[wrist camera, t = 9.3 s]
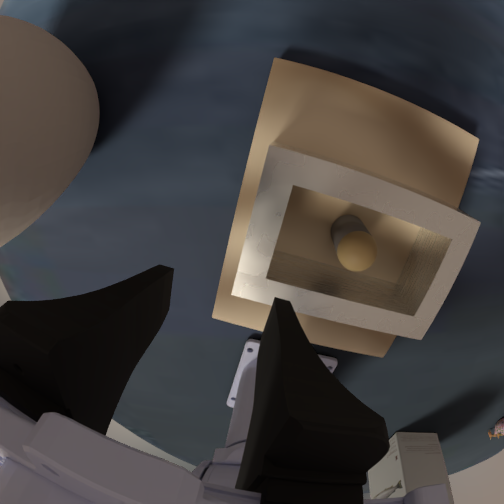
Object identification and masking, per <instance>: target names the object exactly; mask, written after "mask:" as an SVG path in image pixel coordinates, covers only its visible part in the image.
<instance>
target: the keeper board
mask: <svg viewBox="0 0 504 504" xmlns="http://www.w3.org/2000/svg"><path fill="white" fill-rule="evenodd" d="M274 141H275V142H279V143H283V144H286V145H290V146H294V147H297V148H301V149H304V150H308V151H311V152H314V153H318V154H321V155H324V156H327V157H331V158H334V159H337V160H340V161H343V162H346V163H349V164H352V165H355V166H358V167H361V168H363V169H366V170H369V171H372V172H375V173H377V174H380V175H383V176H385V177H388V178H391V179H393V180H396V181H398V182H401V183H404V184H406V185H409V186H411V187H413V188H416V189H418V190H421V191H423V192H425V193H428V194H430V195H432V196H435V197H437V198H439V199H441V200H444V201H446V202H448V203H450V204H452V205H453V206H455V207H457V208H458V206H459V204H460V201H461V198H462V195H463V192H464V189H465V186H466V183H467V180H468V177H469V174H470V171H471V167H472V164H473V160H474V157H475V153H476V150H477V146H478V142H479V139H478V138H476V137H475V136H473V135H471V134H470V133H468V132H466V131H465V130H463V129H461V128H459V127H458V126H456V125H454V124H452V123H450V122H449V121H447V120H445V119H443V118H441V117H439V116H437V115H435V114H433V113H431V112H429V111H427V110H425V109H423V108H421V107H419V106H417V105H415V104H412V103H410V102H408V101H406V100H404V99H401V98H399V97H397V96H394V95H392V94H390V93H387V92H385V91H382V90H380V89H377V88H375V87H372V86H369V85H367V84H364V83H361V82H358V81H356V80H353V79H350V78H347V77H344V76H341V75H338V74H335V73H331V72H328V71H325V70H322V69H318V68H315V67H311V66H307V65H304V64H300V63H296V62H292V61H288V60H284V59H279V58H275V57H274V61H273V64H272V68H271V72H270V76H269V79H268V83H267V87H266V91H265V95H264V98H263V102H262V106H261V110H260V114H259V118H258V122H257V126H256V130H255V133H254V137H253V141H252V145H251V150H250V154H249V158H248V162H247V166H246V170H245V174H244V178H243V182H242V186H241V191H240V195H239V199H238V203H237V208H236V212H235V216H234V220H233V225H232V229H231V233H230V238H229V242H228V247H227V251H226V256H225V260H224V264H223V269H222V274H221V278H220V283H219V287H218V292H217V296H216V301H215V306H214V311H213V315H212V318H215V319H219V320H222V321H226V322H229V323H233V324H237V325H240V326H244V327H248V328H251V329H255V330H259V331H263V330H264V327H265V324H266V322H267V319H268V316H269V313H270V310H271V307H272V306H271V305H267V304H263V303H260V302H256V301H252V300H249V299H245V298H241V297H238V296H234V295H231V294H232V290H233V286H234V282H235V278H236V274H237V270H238V266H239V262H240V258H241V254H242V250H243V246H244V242H245V238H246V234H247V230H248V226H249V222H250V218H251V214H252V210H253V206H254V202H255V198H256V194H257V190H258V186H259V183H260V179H261V175H262V171H263V167H264V163H265V159H266V155H267V152H268V148H269V145H270V144H271V143H272V142H274ZM419 230H420V227H419V226H417V225H414V224H411V223H409V222H406V221H403V220H400V219H398V218H395V217H392V216H389V215H386V214H384V213H381V212H378V211H375V210H372V209H369V208H366V207H363V206H360V205H357V204H354V203H351V202H348V201H345V200H342V199H338V198H335V197H332V196H329V195H325V194H322V193H319V192H316V191H312V190H309V189H305V188H302V187H298V186H295V185H293V187H292V190H291V194H290V197H289V201H288V204H287V208H286V211H285V215H284V218H283V222H282V225H281V228H280V232H279V235H278V239H277V242H276V245H275V249H274V250H278V251H281V252H285V253H289V254H292V255H296V256H299V257H303V258H307V259H310V260H314V261H317V262H321V263H325V264H328V265H332V266H335V267H339V268H343V269H346V270H350V271H353V272H357V273H360V274H364V275H368V276H371V277H375V278H378V279H382V280H385V281H389V282H392V283H396V282H397V280H398V278H399V276H400V274H401V271H402V269H403V267H404V265H405V263H406V260H407V258H408V256H409V254H410V251H411V249H412V247H413V244H414V242H415V240H416V237H417V235H418V232H419ZM295 313H296V316H297V318H298V320H299V322H300V324H301V327H302V328H303V330H304V332H305V334H306V336H307V338H308V340H309V342H310V343H313V344H317V345H322V346H326V347H331V348H336V349H341V350H346V351H351V352H356V353H361V354H366V355H371V356H377V357H382V358H383V357H384V355H385V354H386V352H387V351H388V349H389V347H390V346H391V344H392V342H393V341H394V339H395V338H396V336H397V335H394V334H389V333H384V332H379V331H375V330H370V329H366V328H361V327H357V326H352V325H348V324H344V323H339V322H335V321H331V320H327V319H323V318H318V317H314V316H310V315H306V314H302V313H298V312H295Z"/></svg>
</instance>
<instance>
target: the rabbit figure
mask: <svg viewBox="0 0 504 504" xmlns="http://www.w3.org/2000/svg"><path fill="white" fill-rule="evenodd" d="M488 431H489V432H488V434H489V437H490V438H491V436H494V437H495V436H496V435H497V436H498V439H499V436H503V435H504V418H503V419H500V420H499V421H498V422H497V423H496V425H495V433H494V435H492V434H491V432H490V430H488ZM499 432H502V433H501V434H499ZM490 440H491V439H490Z"/></svg>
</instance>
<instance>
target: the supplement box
mask: <svg viewBox="0 0 504 504" xmlns="http://www.w3.org/2000/svg"><path fill="white" fill-rule="evenodd" d="M389 444H390V448H389V451H388V453H387V454H386V455H385V456H384V457H383V458H382V460H380V461H379V462H378V463H377V464H376V465H375V466H373V467H372V468H371V469H370V470H368V476H369V487H370V499H384V498H396V497H404V496H405V495H406V494H407V493H409V492H410V491H412V490H414V489H416V488H419V487H422V486H429V485H435V484H442V483H444V484H446V489H447V494H448V498H449V503H450V504H454V501H453V496H452V492H451V487H450V482H449V478H448V474H447V469H446V465H445V462H444V458H443V454H442V450H441V447H440V443H439V440H438V436H437V433H416V432H396V433H395V434H394V435H393V436H392V438H390V439H389Z"/></svg>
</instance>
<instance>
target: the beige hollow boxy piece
mask: <svg viewBox="0 0 504 504" xmlns="http://www.w3.org/2000/svg"><path fill="white" fill-rule="evenodd" d="M293 185H295V186H298V187H302V188H305V189H309V190H312V191H316V192H319V193H322V194H325V195H329V196H332V197H335V198H338V199H342V200H345V201H348V202H351V203H354V204H357V205H360V206H363V207H366V208H369V209H372V210H375V211H378V212H381V213H384V214H386V215H389V216H392V217H395V218H398V219H400V220H403V221H406V222H409V223H411V224H414V225H417V226H419V227H420V230H419V232H418V235H417V237H416V240H415V242H414V244H413V247H412V249H411V251H410V254H409V256H408V258H407V260H406V263H405V265H404V267H403V269H402V271H401V274H400V276H399V278H398V280H397V282H396V283H392V282H389V281H385V280H382V279H378V278H375V277H371V276H368V275H364V274H360V273H357V272H353V271H350V270H346V269H343V268H339V267H335V266H332V265H328V264H325V263H321V262H317V261H314V260H310V259H307V258H303V257H299V256H296V255H292V254H289V253H285V252H281V251H278V250H274V249H275V245H276V242H277V239H278V235H279V232H280V228H281V225H282V222H283V218H284V215H285V211H286V208H287V204H288V201H289V197H290V194H291V190H292V187H293ZM480 223H481V222H479V221H478V220H476V219H475V218H473V217H471V216H470V215H468V214H467V213H465V212H463V211H462V210H460V209H458V208H457V207H455V206H453V205H452V204H450V203H448V202H446V201H444V200H441V199H439V198H437V197H435V196H432V195H430V194H428V193H425V192H423V191H421V190H418V189H416V188H413V187H411V186H409V185H406V184H404V183H401V182H398V181H396V180H393V179H391V178H388V177H385V176H383V175H380V174H377V173H375V172H372V171H369V170H366V169H363V168H361V167H358V166H355V165H352V164H349V163H346V162H343V161H340V160H337V159H334V158H331V157H327V156H324V155H321V154H318V153H314V152H311V151H308V150H304V149H301V148H297V147H294V146H290V145H286V144H283V143H279V142H275V141H274V142H272V143H271V144H270V145H269V148H268V152H267V155H266V159H265V163H264V167H263V171H262V175H261V179H260V183H259V186H258V190H257V194H256V198H255V202H254V206H253V210H252V214H251V218H250V222H249V226H248V230H247V234H246V238H245V242H244V246H243V250H242V254H241V258H240V262H239V266H238V270H237V274H236V278H235V282H234V286H233V290H232V294H231V295H234V296H238V297H241V298H245V299H249V300H252V301H256V302H260V303H263V304H267V305H271V306H272V304H273V301H274V298H275V297H277V298H280V299H284V300H288V301H290V302H291V304H292V306H293V309H294V311H295V312H298V313H302V314H306V315H310V316H314V317H318V318H323V319H327V320H331V321H335V322H339V323H344V324H348V325H352V326H357V327H361V328H366V329H370V330H375V331H379V332H384V333H389V334H394V335H398V336H403V337H408V338H413V339H418V340H422V338H423V336H424V335H425V333H426V331H427V330H428V328H429V327H430V325H431V323H432V322H433V320H434V318H435V316H436V315H437V313H438V311H439V309H440V308H441V306H442V304H443V302H444V300H445V299H446V297H447V295H448V293H449V291H450V289H451V287H452V285H453V283H454V281H455V279H456V277H457V275H458V273H459V271H460V269H461V267H462V265H463V263H464V261H465V259H466V256H467V254H468V252H469V250H470V247H471V245H472V243H473V240H474V238H475V236H476V233H477V231H478V228H479V226H480Z"/></svg>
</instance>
